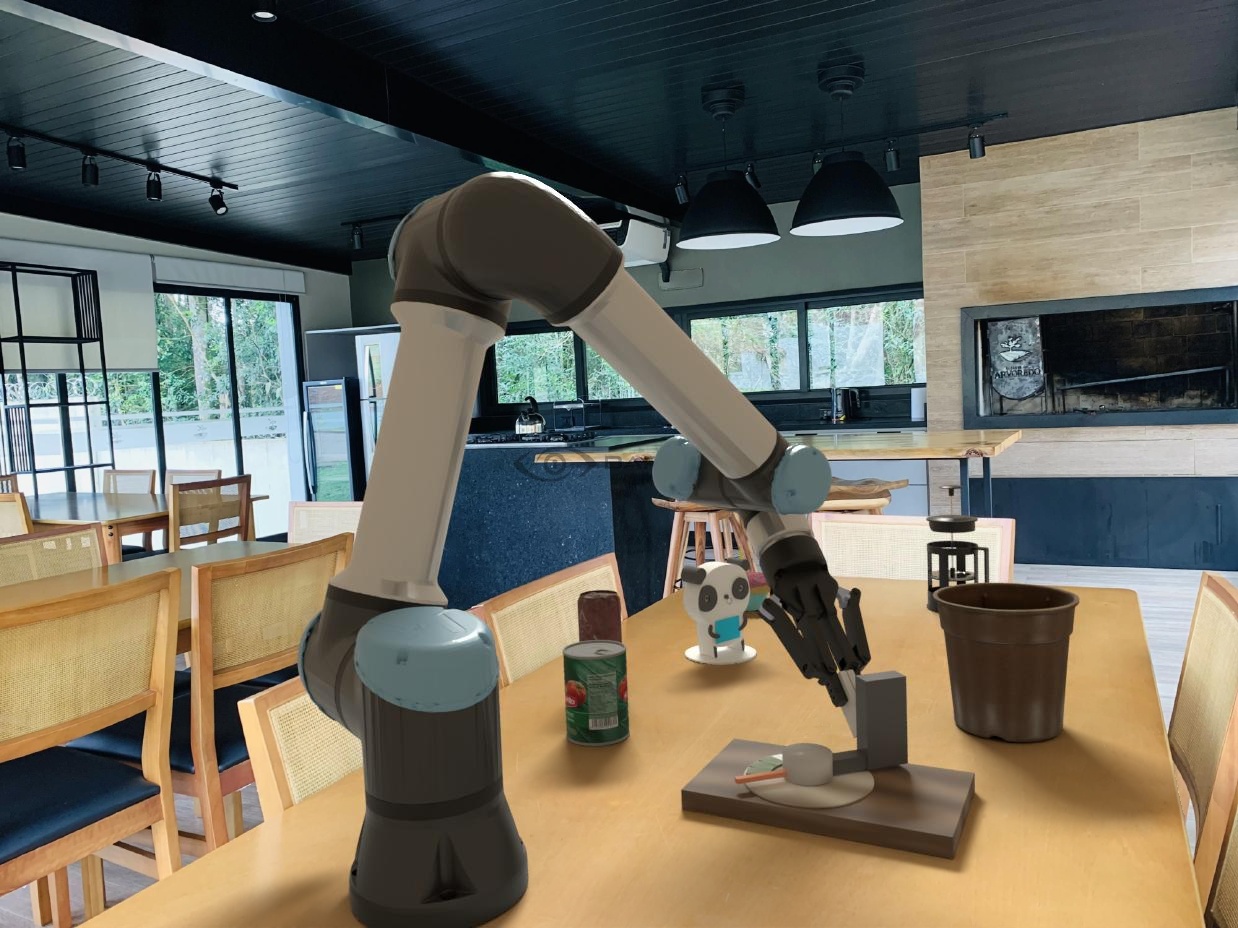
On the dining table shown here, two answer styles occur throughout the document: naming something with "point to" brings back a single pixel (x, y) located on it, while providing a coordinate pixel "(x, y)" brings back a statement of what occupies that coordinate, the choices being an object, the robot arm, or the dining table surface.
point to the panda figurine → (718, 610)
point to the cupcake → (756, 588)
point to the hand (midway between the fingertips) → (865, 730)
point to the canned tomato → (596, 692)
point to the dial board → (839, 800)
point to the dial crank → (876, 736)
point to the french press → (952, 551)
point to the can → (599, 616)
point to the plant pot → (1007, 657)
